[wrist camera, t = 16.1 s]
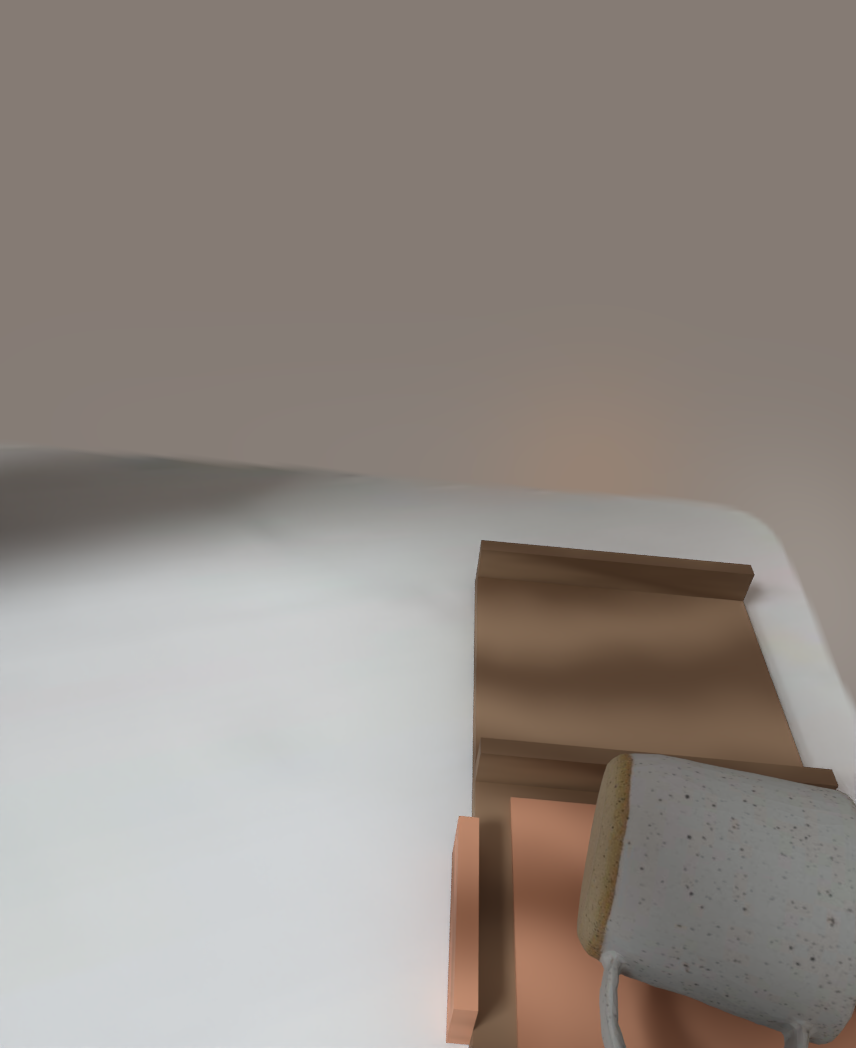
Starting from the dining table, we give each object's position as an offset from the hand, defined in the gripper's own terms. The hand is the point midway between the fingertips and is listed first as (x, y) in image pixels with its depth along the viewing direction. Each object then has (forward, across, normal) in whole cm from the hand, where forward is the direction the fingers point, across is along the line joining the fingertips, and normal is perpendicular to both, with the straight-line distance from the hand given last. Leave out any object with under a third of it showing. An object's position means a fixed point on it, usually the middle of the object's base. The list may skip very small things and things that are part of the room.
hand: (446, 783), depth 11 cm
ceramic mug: (+14, +9, -16) cm, 23 cm away
